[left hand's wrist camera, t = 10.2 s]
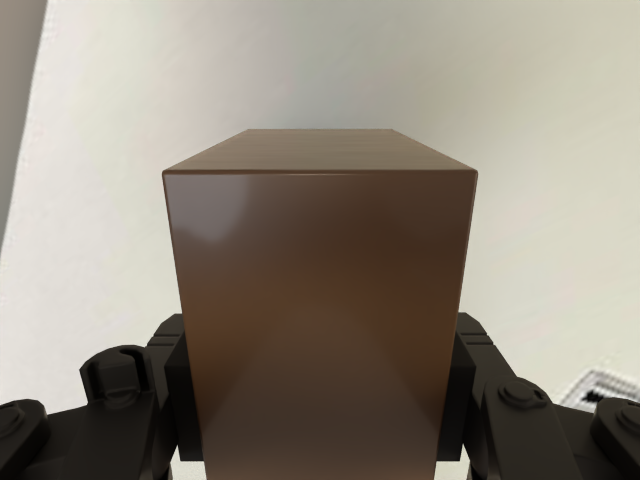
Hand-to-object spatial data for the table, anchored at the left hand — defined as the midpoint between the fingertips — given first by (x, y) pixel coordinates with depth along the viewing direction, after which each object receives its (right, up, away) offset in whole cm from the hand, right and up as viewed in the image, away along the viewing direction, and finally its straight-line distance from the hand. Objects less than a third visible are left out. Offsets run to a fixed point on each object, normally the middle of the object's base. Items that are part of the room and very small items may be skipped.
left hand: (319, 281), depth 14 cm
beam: (0, -30, +12) cm, 32 cm away
